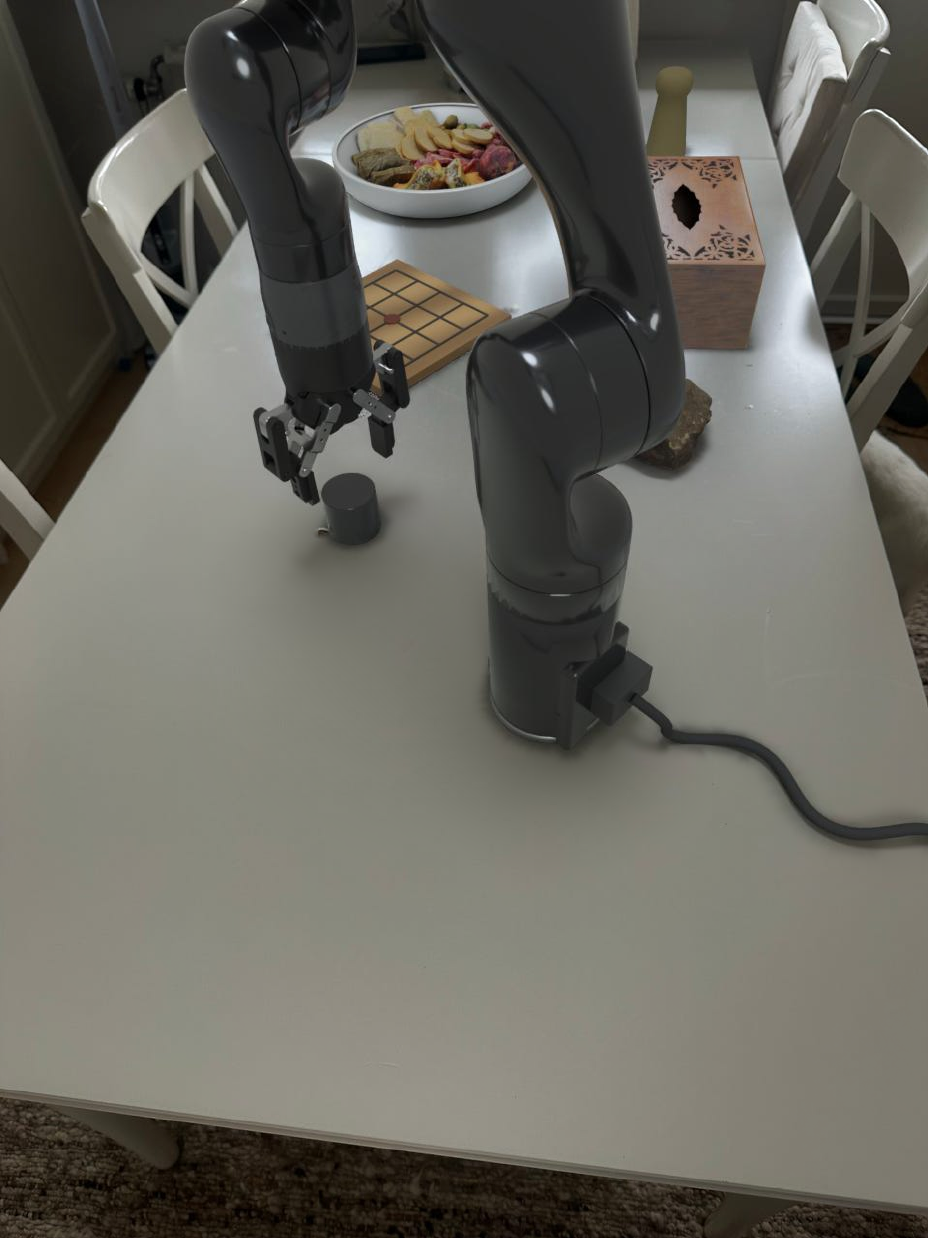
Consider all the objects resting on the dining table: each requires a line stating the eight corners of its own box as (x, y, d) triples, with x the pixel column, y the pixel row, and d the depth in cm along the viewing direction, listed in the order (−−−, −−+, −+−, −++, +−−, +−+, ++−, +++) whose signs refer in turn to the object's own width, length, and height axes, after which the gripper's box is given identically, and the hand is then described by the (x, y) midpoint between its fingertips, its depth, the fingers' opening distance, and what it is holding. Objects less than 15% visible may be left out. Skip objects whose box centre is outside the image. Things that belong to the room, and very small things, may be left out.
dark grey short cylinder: (392, 524, 82) (386, 489, 78) (352, 552, 80) (344, 517, 76) (357, 500, 84) (351, 464, 81) (318, 527, 82) (309, 491, 78)
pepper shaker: (637, 148, 131) (645, 66, 122) (671, 139, 132) (682, 57, 124) (659, 163, 127) (669, 80, 119) (693, 154, 129) (706, 71, 120)
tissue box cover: (612, 235, 115) (619, 156, 107) (723, 235, 113) (738, 155, 106) (616, 347, 98) (625, 263, 91) (745, 348, 97) (766, 264, 89)
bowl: (312, 223, 120) (301, 165, 114) (365, 133, 139) (358, 78, 133) (525, 234, 116) (526, 173, 110) (551, 139, 134) (553, 83, 128)
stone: (675, 488, 84) (691, 440, 79) (546, 436, 88) (555, 387, 83) (710, 434, 90) (727, 387, 85) (588, 387, 93) (598, 339, 89)
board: (511, 323, 102) (511, 313, 101) (387, 401, 94) (385, 390, 93) (398, 267, 112) (397, 257, 111) (275, 333, 103) (273, 323, 102)
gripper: (270, 376, 60) (311, 538, 73) (420, 293, 66) (433, 456, 79) (210, 335, 64) (258, 496, 76) (357, 259, 70) (379, 420, 82)
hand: (347, 475), depth 78 cm, fingers open, 8 cm apart
